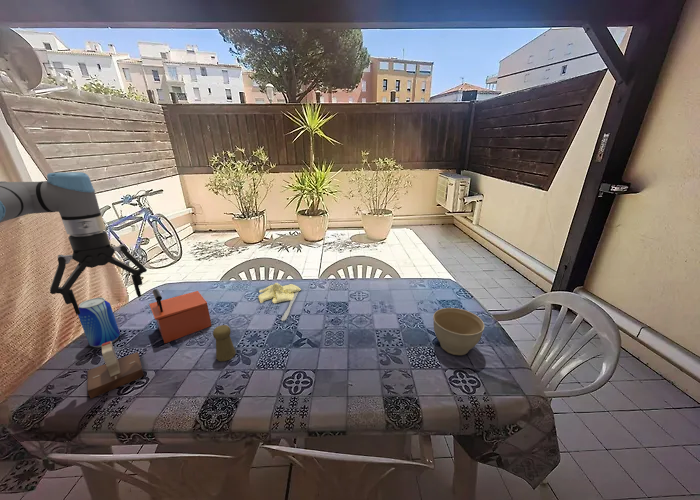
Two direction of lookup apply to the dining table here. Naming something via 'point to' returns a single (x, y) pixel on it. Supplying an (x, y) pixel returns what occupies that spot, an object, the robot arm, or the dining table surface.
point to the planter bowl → (457, 330)
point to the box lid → (175, 304)
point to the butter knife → (289, 307)
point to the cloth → (278, 293)
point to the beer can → (98, 322)
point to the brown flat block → (103, 382)
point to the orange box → (184, 323)
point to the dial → (110, 358)
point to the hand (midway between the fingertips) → (110, 303)
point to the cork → (223, 343)
